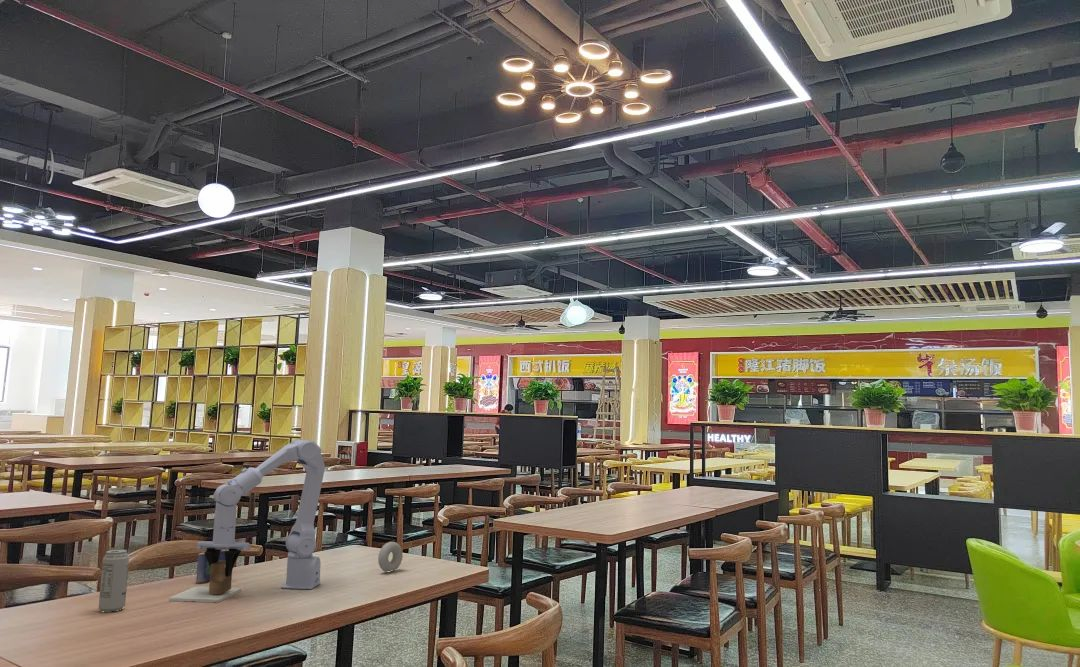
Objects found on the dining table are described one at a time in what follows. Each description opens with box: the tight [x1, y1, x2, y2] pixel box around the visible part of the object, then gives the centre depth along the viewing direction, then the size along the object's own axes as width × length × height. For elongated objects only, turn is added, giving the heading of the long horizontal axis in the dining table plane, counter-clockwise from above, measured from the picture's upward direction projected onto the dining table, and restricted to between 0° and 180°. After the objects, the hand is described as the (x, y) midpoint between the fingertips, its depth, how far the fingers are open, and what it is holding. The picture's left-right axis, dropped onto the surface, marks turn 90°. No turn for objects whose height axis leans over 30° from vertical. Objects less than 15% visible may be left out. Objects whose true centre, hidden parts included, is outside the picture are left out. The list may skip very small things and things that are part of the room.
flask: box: [195, 550, 228, 585], centre depth 226 cm, size 9×3×11 cm, turn 146°
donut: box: [377, 541, 403, 572], centre depth 244 cm, size 10×4×10 cm, turn 146°
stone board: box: [168, 586, 242, 604], centre depth 207 cm, size 14×14×1 cm
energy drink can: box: [98, 549, 130, 613], centre depth 191 cm, size 6×6×15 cm
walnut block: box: [208, 560, 233, 594], centre depth 207 cm, size 4×6×8 cm, turn 177°
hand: (221, 575), depth 207 cm, fingers closed on walnut block, 3 cm apart
